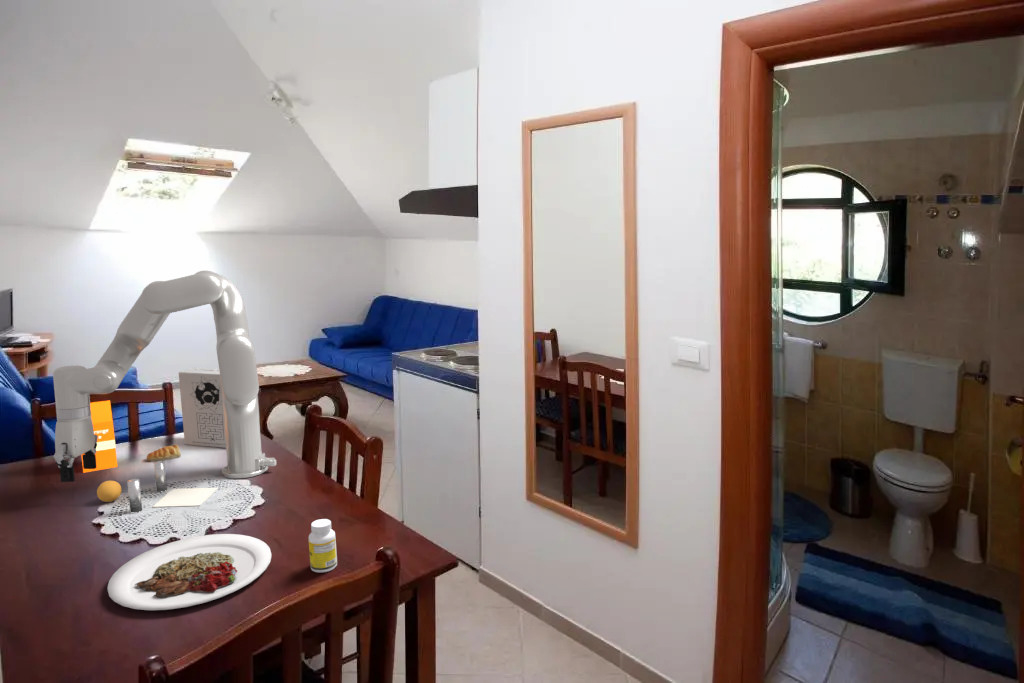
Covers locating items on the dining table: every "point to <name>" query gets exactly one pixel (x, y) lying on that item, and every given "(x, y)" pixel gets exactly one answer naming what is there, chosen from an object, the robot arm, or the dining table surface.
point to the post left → (134, 495)
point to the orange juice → (103, 436)
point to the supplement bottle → (322, 546)
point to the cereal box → (202, 407)
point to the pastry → (164, 454)
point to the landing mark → (185, 497)
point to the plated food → (189, 572)
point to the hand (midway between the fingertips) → (79, 474)
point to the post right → (160, 476)
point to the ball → (109, 491)
